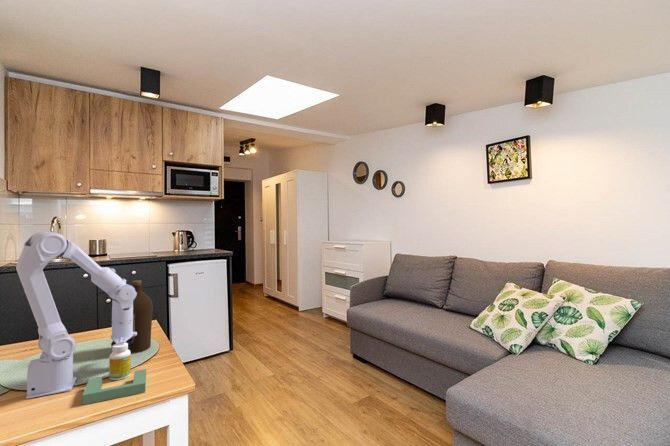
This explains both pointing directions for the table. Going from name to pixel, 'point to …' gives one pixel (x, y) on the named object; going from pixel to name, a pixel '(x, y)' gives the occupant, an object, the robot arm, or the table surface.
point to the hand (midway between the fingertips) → (122, 362)
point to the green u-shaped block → (113, 389)
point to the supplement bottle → (119, 362)
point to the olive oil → (141, 319)
